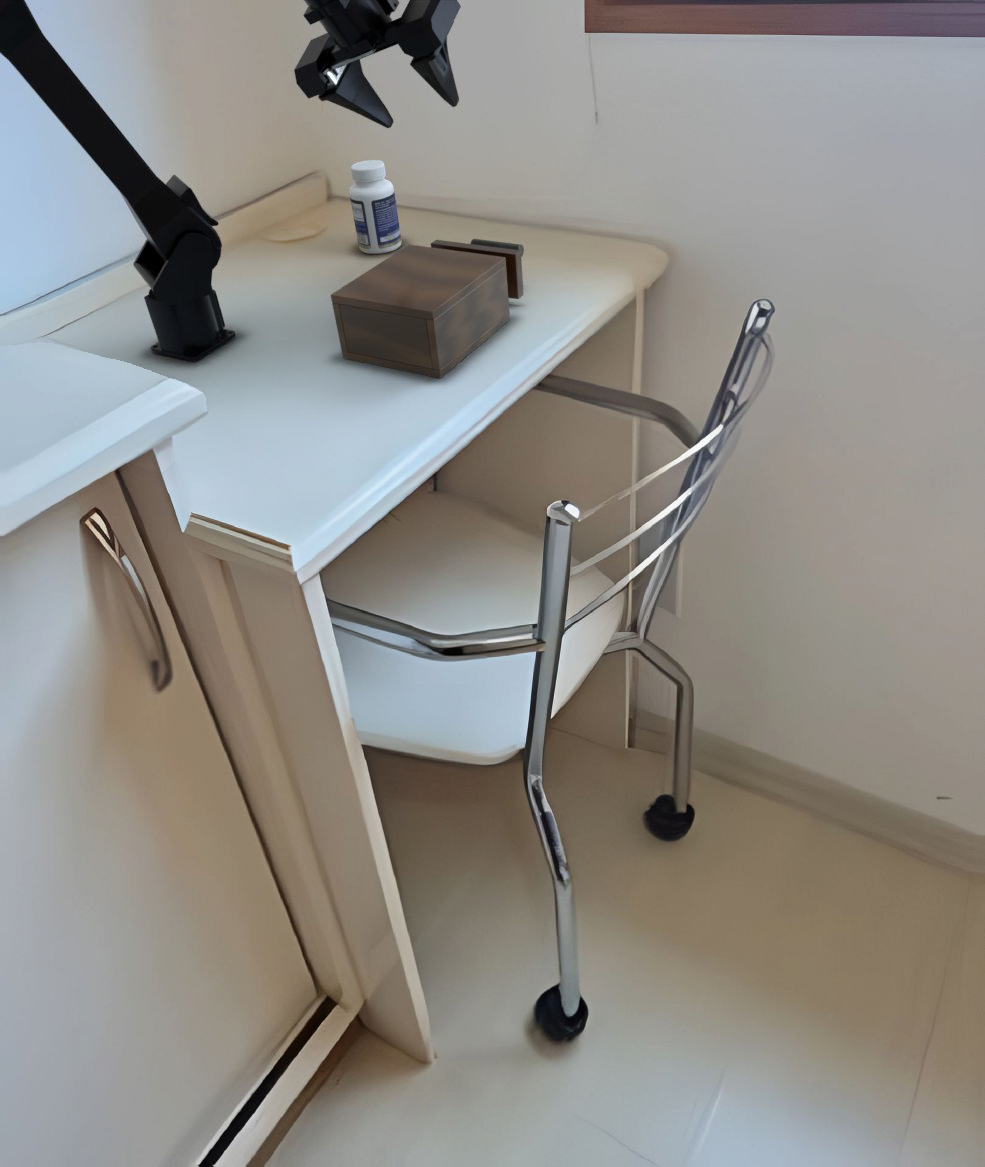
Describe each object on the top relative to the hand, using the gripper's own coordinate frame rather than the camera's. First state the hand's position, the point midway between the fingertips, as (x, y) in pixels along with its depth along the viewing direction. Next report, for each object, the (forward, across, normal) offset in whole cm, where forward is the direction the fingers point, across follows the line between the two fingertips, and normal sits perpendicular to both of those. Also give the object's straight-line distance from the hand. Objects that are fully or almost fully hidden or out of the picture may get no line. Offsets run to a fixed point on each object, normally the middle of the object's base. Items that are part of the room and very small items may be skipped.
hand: (422, 114), depth 97 cm
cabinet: (+10, -4, +22) cm, 24 cm away
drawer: (+12, -4, +15) cm, 20 cm away
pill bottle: (+13, +16, +2) cm, 21 cm away
